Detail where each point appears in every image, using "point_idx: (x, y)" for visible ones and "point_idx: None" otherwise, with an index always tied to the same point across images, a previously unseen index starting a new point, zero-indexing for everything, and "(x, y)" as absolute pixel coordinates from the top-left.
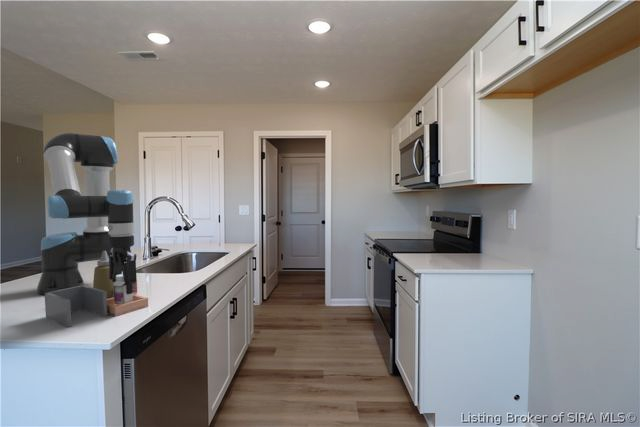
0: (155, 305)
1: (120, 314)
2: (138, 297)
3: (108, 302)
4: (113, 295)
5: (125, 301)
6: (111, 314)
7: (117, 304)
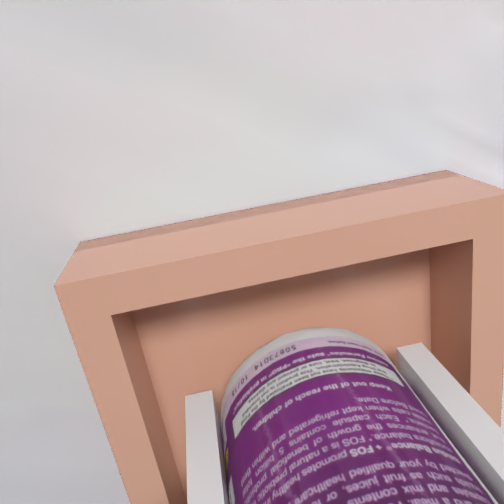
0: (482, 95)
1: None
2: (346, 260)
3: (177, 500)
4: None
5: None
6: None
7: None
